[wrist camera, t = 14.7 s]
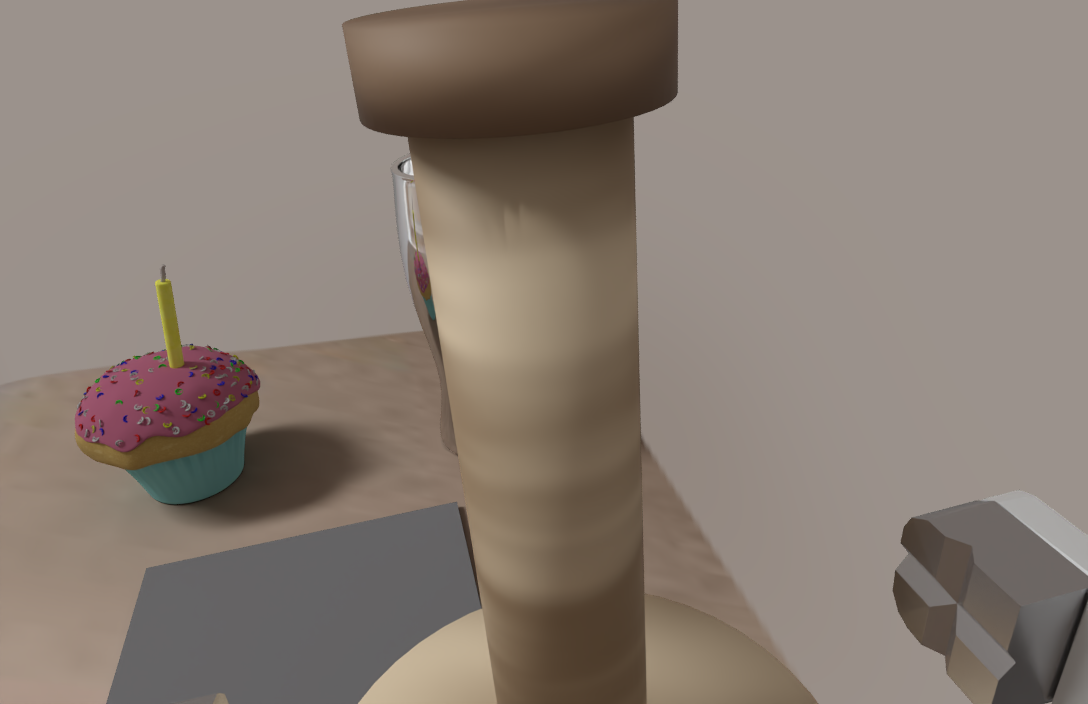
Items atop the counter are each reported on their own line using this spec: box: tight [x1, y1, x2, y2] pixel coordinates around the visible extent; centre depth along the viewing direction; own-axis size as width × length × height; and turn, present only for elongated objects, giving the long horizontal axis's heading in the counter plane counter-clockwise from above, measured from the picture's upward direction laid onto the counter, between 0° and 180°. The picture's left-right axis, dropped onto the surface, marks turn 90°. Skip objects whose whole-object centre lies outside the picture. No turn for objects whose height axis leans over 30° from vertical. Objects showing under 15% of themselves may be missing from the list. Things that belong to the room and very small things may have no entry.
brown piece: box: [342, 0, 818, 704], centre depth 15 cm, size 13×13×18 cm
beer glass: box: [391, 153, 458, 454], centre depth 40 cm, size 7×7×15 cm
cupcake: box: [75, 265, 260, 504], centre depth 38 cm, size 9×8×12 cm
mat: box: [106, 502, 481, 704], centre depth 30 cm, size 14×14×1 cm
